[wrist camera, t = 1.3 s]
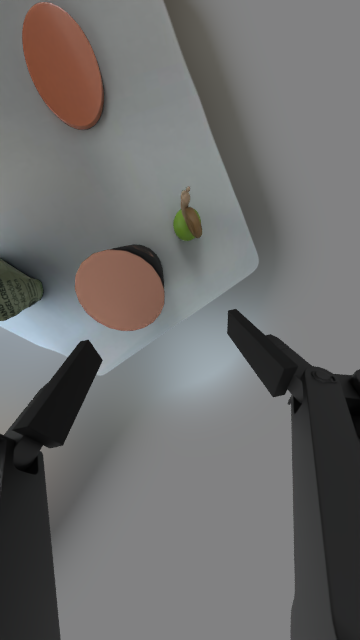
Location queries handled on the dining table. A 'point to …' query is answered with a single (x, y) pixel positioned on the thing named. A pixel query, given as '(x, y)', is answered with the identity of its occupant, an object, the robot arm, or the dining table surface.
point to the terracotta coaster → (63, 65)
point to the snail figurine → (187, 220)
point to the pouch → (16, 291)
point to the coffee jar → (121, 287)
